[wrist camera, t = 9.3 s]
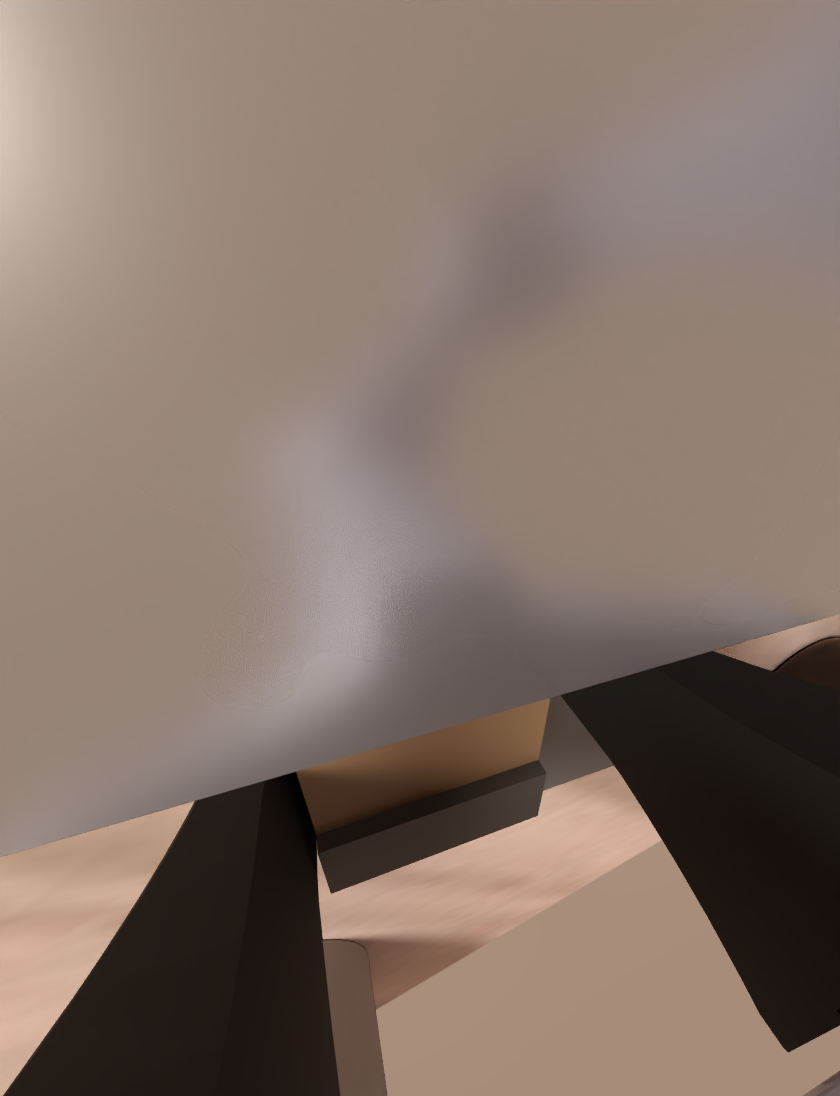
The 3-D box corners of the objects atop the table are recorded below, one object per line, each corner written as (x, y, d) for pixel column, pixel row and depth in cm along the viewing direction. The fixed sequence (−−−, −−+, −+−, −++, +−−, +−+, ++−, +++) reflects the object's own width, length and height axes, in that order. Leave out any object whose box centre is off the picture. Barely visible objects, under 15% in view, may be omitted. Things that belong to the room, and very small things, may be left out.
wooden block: (468, 36, 6) (826, -520, 2) (456, 677, 13) (534, 832, 9) (139, -12, 5) (-414, -1333, 1) (317, 714, 12) (336, 908, 8)
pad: (782, 413, 12) (805, 417, 11) (646, 739, 19) (656, 750, 18) (502, 442, 9) (515, 449, 9) (472, 798, 17) (478, 813, 16)
